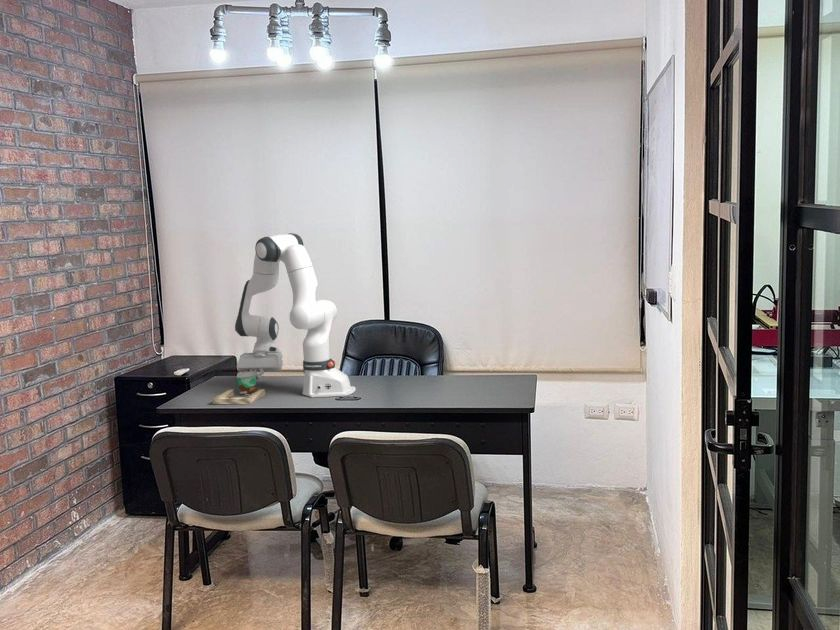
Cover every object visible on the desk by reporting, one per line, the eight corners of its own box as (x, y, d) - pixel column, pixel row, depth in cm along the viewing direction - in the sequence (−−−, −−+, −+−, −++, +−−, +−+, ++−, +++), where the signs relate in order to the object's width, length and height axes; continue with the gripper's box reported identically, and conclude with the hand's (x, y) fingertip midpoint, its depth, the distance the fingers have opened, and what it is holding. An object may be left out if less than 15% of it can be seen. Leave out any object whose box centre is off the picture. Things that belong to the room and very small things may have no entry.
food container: (252, 396, 346) (250, 373, 345) (238, 396, 347) (236, 373, 346) (263, 389, 358) (261, 367, 357) (250, 389, 359) (248, 367, 358)
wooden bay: (265, 394, 347) (264, 389, 347) (249, 404, 331) (248, 398, 330) (229, 395, 350) (229, 389, 350) (212, 404, 334) (212, 398, 333)
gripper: (238, 349, 366) (231, 375, 358) (281, 348, 362) (275, 374, 354) (243, 357, 371) (236, 382, 363) (286, 356, 367) (279, 382, 359)
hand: (256, 378), depth 358 cm, fingers closed
